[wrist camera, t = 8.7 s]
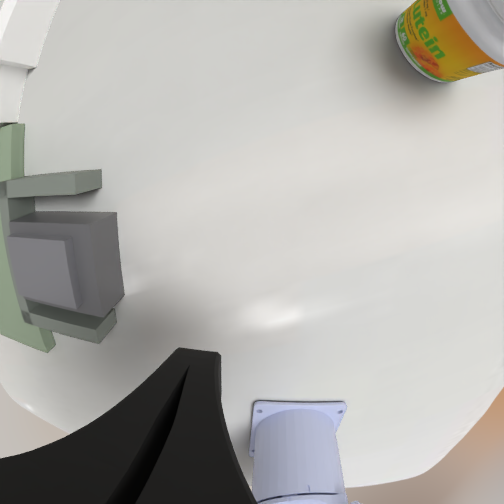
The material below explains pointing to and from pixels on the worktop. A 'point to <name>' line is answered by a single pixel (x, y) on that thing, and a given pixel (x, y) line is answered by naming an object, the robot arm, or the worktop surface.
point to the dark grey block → (67, 260)
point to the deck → (3, 281)
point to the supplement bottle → (452, 37)
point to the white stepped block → (20, 48)
